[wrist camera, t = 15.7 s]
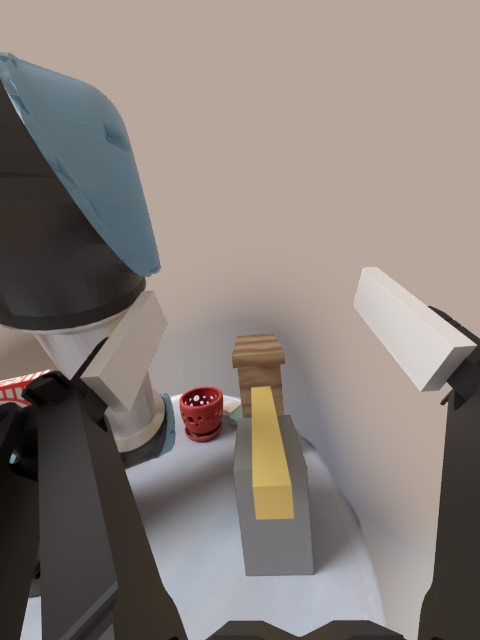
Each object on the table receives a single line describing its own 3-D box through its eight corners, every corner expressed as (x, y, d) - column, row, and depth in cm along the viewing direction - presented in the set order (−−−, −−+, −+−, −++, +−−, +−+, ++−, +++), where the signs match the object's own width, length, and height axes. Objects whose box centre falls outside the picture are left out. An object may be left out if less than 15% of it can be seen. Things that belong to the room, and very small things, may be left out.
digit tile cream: (218, 414, 74) (217, 407, 73) (229, 405, 78) (228, 399, 78) (231, 418, 70) (230, 412, 70) (241, 409, 75) (241, 403, 74)
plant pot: (202, 453, 55) (197, 412, 54) (176, 434, 64) (170, 399, 62) (234, 426, 65) (230, 391, 64) (207, 413, 74) (203, 382, 72)
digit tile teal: (229, 424, 67) (228, 417, 67) (239, 414, 72) (238, 408, 72) (245, 429, 64) (244, 422, 63) (254, 418, 69) (253, 412, 68)
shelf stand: (294, 489, 43) (284, 351, 39) (247, 491, 44) (231, 356, 39) (282, 433, 60) (273, 333, 56) (247, 435, 60) (237, 336, 56)
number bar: (294, 518, 22) (291, 485, 21) (256, 519, 22) (252, 486, 21) (271, 403, 43) (270, 386, 43) (253, 405, 44) (251, 387, 43)
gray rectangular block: (313, 574, 30) (306, 466, 28) (246, 575, 31) (233, 469, 28) (296, 496, 41) (290, 414, 39) (247, 498, 42) (237, 418, 40)
